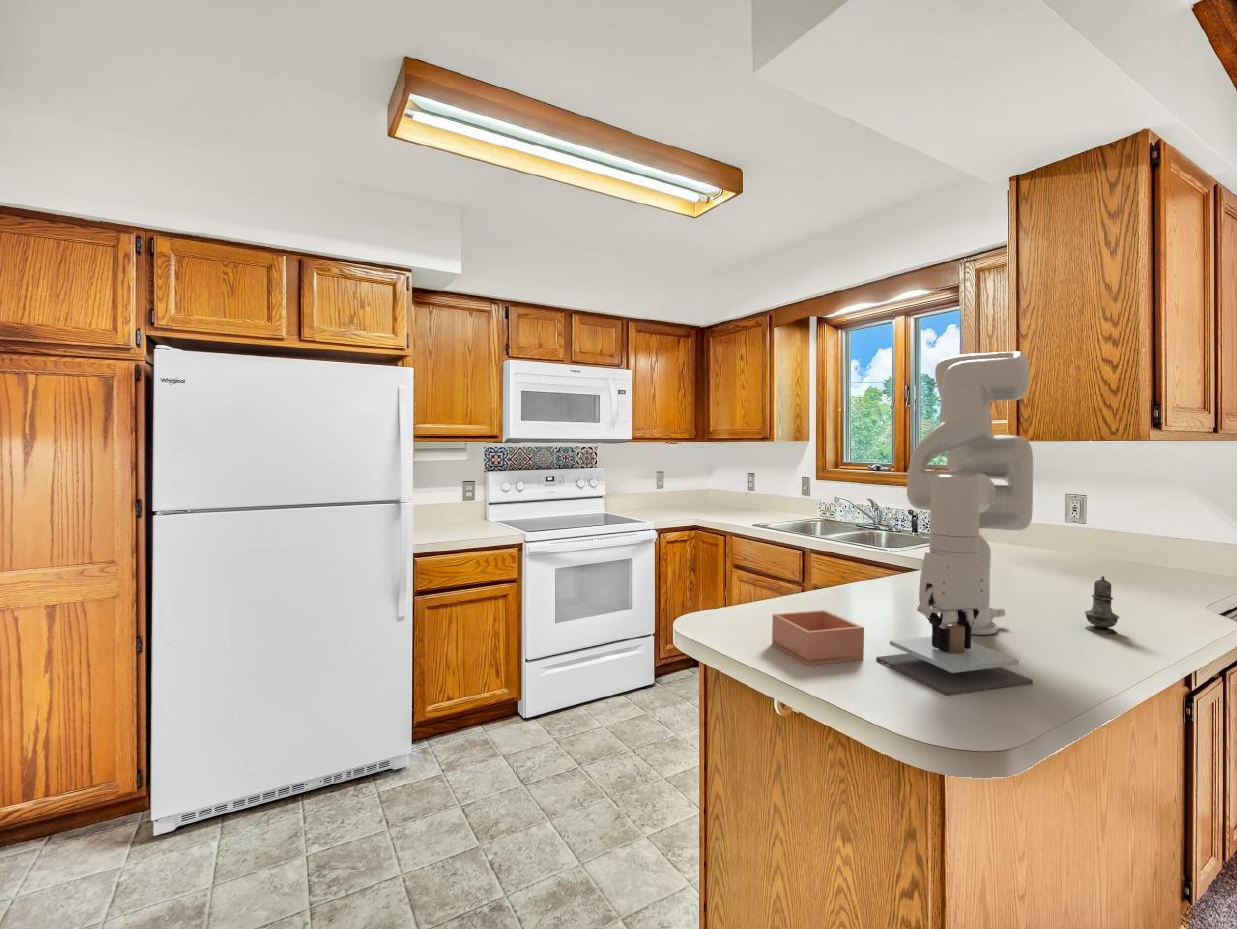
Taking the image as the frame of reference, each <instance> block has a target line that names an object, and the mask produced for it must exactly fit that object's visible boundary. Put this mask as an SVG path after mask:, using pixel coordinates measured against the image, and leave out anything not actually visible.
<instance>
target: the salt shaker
mask: <svg viewBox="0 0 1237 929" xmlns="http://www.w3.org/2000/svg"><path fill="white" fill-rule="evenodd" d="M1091 597H1092V598H1093V601H1092V603H1093V604H1092V607H1091V609H1090V610H1086V611H1084V614H1085V618H1086V620H1087V621H1088V622H1089V623H1090V624H1091V625H1088V626H1086V627H1085V629H1086V630H1087V631H1089V632H1092V633H1095V634H1101V635H1118V632H1117V631H1116V630H1115V629H1113V628H1112V627H1114V626H1116V625H1117V623H1118V620H1119V619H1120V618H1121V617H1120V616H1119V615H1117V614H1116V613H1114V612H1113V610H1112V600H1114V598H1113V597H1112V583H1111V582H1110V581H1108V580H1106V579H1105V576H1104V575H1102V576H1101V579H1097V580H1095V581H1094V584H1093V594H1092V595H1091Z"/></svg>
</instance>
